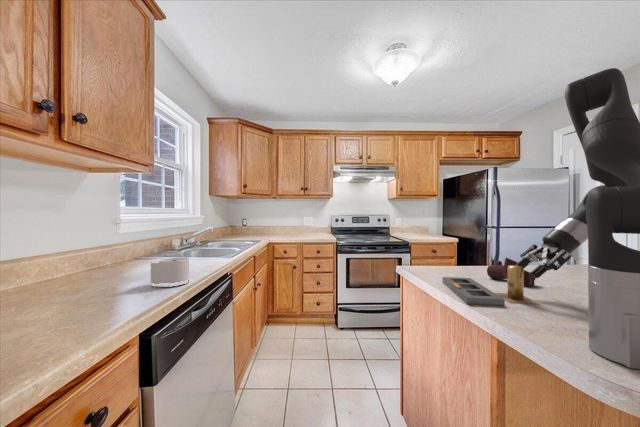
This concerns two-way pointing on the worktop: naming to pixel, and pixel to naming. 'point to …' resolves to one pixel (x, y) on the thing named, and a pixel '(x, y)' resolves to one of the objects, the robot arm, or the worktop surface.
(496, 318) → the worktop surface
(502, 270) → the bracket
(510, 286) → the gold domed cylinder
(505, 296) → the tan rectangular plate
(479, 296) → the grey flat frame
